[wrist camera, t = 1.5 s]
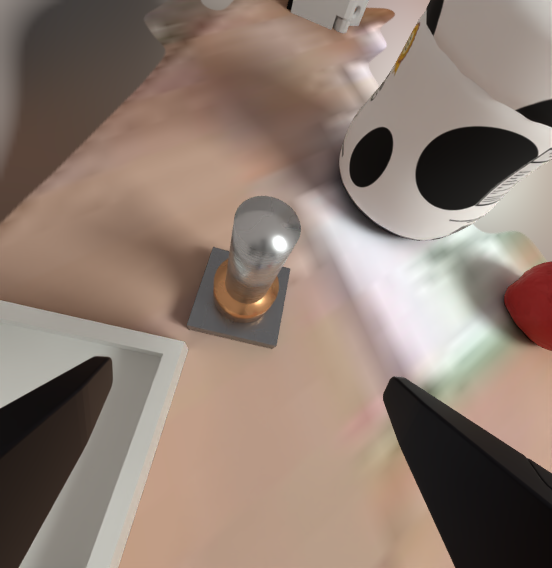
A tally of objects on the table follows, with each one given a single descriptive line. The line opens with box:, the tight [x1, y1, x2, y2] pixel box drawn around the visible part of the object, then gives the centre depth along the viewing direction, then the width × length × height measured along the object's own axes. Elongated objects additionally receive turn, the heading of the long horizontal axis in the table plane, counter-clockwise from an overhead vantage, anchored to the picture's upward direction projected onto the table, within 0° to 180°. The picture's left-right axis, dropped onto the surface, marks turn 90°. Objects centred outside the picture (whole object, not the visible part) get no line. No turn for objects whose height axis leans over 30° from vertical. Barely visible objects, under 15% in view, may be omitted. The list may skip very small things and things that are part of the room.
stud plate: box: [187, 247, 290, 349], centre depth 22 cm, size 7×7×2 cm
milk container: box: [339, 0, 552, 241], centre depth 24 cm, size 17×17×18 cm
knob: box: [213, 196, 301, 323], centre depth 17 cm, size 5×5×10 cm
